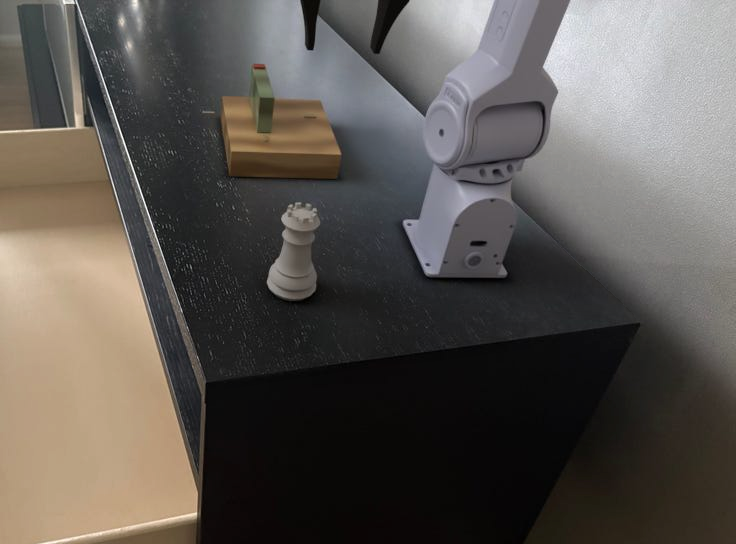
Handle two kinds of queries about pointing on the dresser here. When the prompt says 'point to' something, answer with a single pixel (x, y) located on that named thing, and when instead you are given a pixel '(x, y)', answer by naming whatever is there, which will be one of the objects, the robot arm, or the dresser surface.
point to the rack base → (279, 140)
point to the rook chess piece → (295, 255)
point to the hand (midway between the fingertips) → (342, 49)
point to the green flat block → (261, 98)
